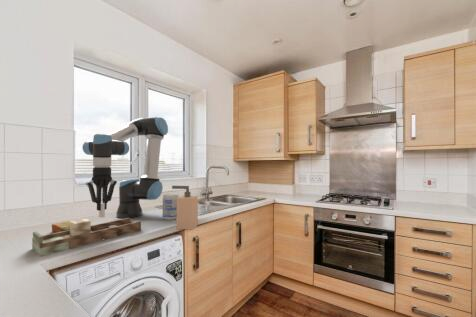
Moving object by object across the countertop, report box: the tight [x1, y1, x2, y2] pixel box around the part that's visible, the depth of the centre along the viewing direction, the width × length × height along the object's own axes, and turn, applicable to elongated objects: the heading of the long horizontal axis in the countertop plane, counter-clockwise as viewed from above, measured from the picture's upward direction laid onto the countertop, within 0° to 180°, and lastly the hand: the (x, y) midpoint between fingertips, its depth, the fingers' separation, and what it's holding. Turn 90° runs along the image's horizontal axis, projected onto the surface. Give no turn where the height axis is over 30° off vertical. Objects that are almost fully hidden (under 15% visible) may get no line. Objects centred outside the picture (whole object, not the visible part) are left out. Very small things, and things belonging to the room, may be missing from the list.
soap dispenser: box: [171, 185, 199, 231], centre depth 123 cm, size 13×9×22 cm
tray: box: [31, 218, 142, 257], centre depth 106 cm, size 40×12×7 cm, turn 142°
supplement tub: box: [162, 192, 180, 221], centre depth 142 cm, size 10×10×15 cm
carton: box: [51, 220, 71, 234], centre depth 114 cm, size 8×16×4 cm, turn 57°
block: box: [69, 218, 92, 236], centre depth 102 cm, size 6×6×6 cm
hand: (101, 216), depth 109 cm, fingers closed
